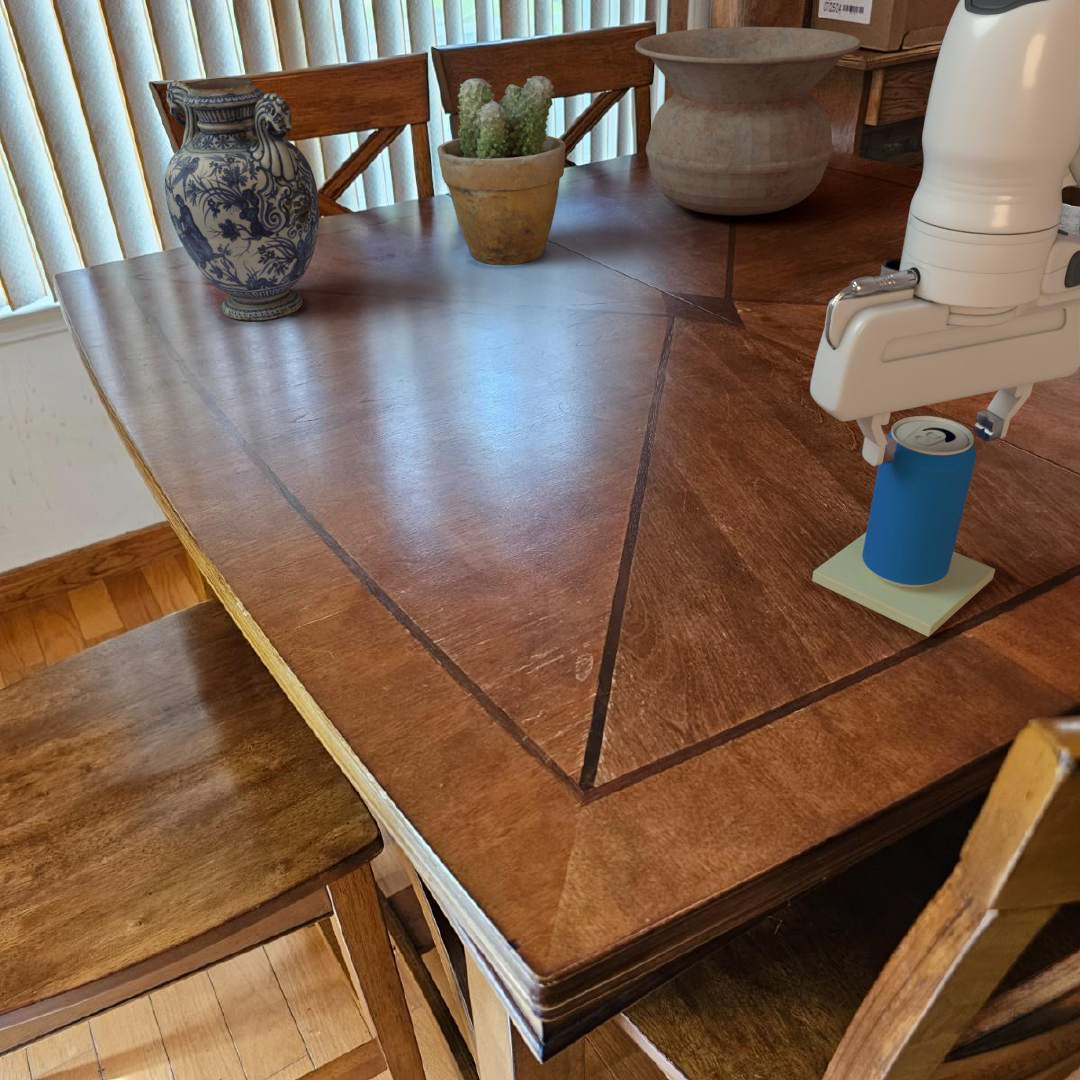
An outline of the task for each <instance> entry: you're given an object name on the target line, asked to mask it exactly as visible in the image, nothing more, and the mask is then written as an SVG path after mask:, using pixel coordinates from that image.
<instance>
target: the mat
mask: <svg viewBox="0 0 1080 1080" xmlns="http://www.w3.org/2000/svg"><path fill="white" fill-rule="evenodd" d="M865 537H866V532H864V533H863V534H861V535H860V536H859V537H858V538H856V539H855V540H853V541H852V542H850V543H849V544H848V545H846V546H845V547H844V548H843V549H841V550H840V551H839V552H837V553H836V554H834V555H833V556H832V557H830V558H828V560H826V561H825V562H824V563H822V564H821V565H820V566H818V567H816V568H815V569H813V571H812V577H811V578H812V579H811V581H812V582H813V583H816V584H818V585H820V586H822V587H824V588H826V589H827V590H830V591H832V592H834V593H836V594H838V595H840V596H843V597H844V598H847V599H848V600H851V601H853V602H855V603H857V604H859V605H861V606H863V607H865V608H867V609H869V610H871V611H873V612H875V613H877V614H880V615H882V616H884V617H886V618H888V619H890V620H892V621H893V622H894V621H895V622H897V623H898V624H901V625H902V626H905V627H907V628H909V629H911V630H912V631H915V632H917V633H919V634H922V635H924V636H925V637H927V638H929V637H930V636H931V635H932V634H934V633H935V632H936V631H937V630H938V629H939V628H940V627H941V626H943V625H944V624H945V623H946V622H947V621H948V620H949V619H950V618H951V617H953V615H954V614H956V613H957V612H958V611H959V610H960V609H961V608H962V607H964V605H966V604H967V603H968V602H969V601H970V600H971V599H972V598H973V597H974V596H976V595H977V594H978V593H979V592H980V591H981V590H982V589H984V588H985V587H986V586H987V585H988V584H989V583H990V582H991V581H992V580H993V579H994V575H995V573H996V568H994V567H991V566H990V565H986V564H985V563H982V562H980V561H977V560H975V559H972V558H970V557H967V556H966V555H963V554H961V553H958V552H956V551H953V555H952V559H951V563H950V568H949V571H948V573H947V575H946V576H945V577H944V578H943V579H942V580H940V581H938V582H936V583H933V584H929V585H926V586H923V587H916V588H908V587H900V586H896V585H893V584H890V583H887V582H885V581H883V580H882V579H880V578H879V577H878V576H876V575H875V574H874V573H873V572H872V571H871V570H869V569H868V567H867V566H866V565H865V563H864V561H863V557H862V554H863V548H864V542H865Z"/></svg>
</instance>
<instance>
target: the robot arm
mask: <svg viewBox="0 0 1080 1080" xmlns="http://www.w3.org/2000/svg"><path fill="white" fill-rule="evenodd" d="M926 105H927V106H926V111H925V115H924V123H923V129H922V135H921V146H922V153H923V168H922V174H921V177H920V181H919V183H918V186H917V188H916V190H915V192H914V194H913V197H912V198H911V202H910V206H909V210H908V211H909V212H908V216H907V217H908V218H907V223H906V229H905V235H904V241H903V246H902V252H901V257H900V258H901V263H900V269H899V271H897V272H891V273H887V274H884V275H881V276H880V275H877V276H871V275H869V276H861V277H858V278H855V279H852V280H850V282H849V283H848V286H847V287H844V288H843V289H842V290H840V291H839V292H838V293H837V294H836V295H835V296H834V297H833V298H832V299H831V300H830V301H829V303H828V304H827V309H826V312H825V313H826V316H825V321H824V328H823V331H822V335H821V337H820V341H819V345H818V348H817V352H816V356H815V360H814V365H813V368H812V369H813V370H812V374H811V378H810V386H809V393H810V396H811V398H812V399H813V400H814V402H815V403H816V404H817V405H818V406H819V407H820V408H821V409H822V410H823V411H824V412H825V413H827V414H829V415H830V416H831V417H833V418H834V419H836V420H837V421H840V422H842V423H843V422H850V421H856V423H857V425H858V427H859V429H860V431H861V433H862V435H863V436H864V439H863V445H862V457H863V460H865V461H866V462H867V463H868V464H870V465H871V466H872V467H876V466H877V467H878V466H879V465H882V464H886V463H891V462H893V461H894V459H895V456H894V453H895V451H896V448H897V443H898V442H896V441H895V440H893V439H892V438H889V437H888V434H887V433H886V432H884V430H883V428H882V426H886V425H888V424H889V423H890V418H891V415H892V414H891V413H895V412H899V411H905V410H909V409H915V408H919V407H925V406H928V405H935V404H939V403H944V402H948V401H954V400H959V399H964V398H969V397H974V396H978V395H983V394H988V393H993V392H996V393H995V395H994V396H993V398H992V400H991V401H990V403H989V405H988V406H987V408H986V409H984V410H979V411H977V413H976V417H975V421H976V423H974V426H973V433H974V435H975V436H976V437H978V438H980V439H982V441H984V442H990V441H996V440H1000V439H1005V438H1006V436H1007V433H1008V431H1009V426H1010V423H1011V419H1013V418H1014V417H1015V415H1016V414H1017V413H1018V412H1019V410H1021V408H1022V406H1023V405H1024V404H1025V403H1026V402H1027V400H1028V399H1029V398H1030V397H1031V395H1032V392H1033V389H1034V385H1035V384H1037V383H1042V382H1047V381H1052V380H1056V379H1057V380H1058V379H1063V378H1066V377H1067V378H1068V377H1071V376H1072V375H1074V374H1075V373H1076V372H1077V371H1078V370H1079V369H1080V236H1079V235H1076V234H1074V233H1070V232H1067V231H1065V230H1063V229H1060V225H1061V221H1062V217H1063V194H1062V193H1063V189H1065V188H1067V187H1073V188H1078V189H1080V0H959V1H958V3H957V5H956V7H955V9H954V11H953V14H952V15H951V18H950V21H949V23H948V26H947V28H946V31H945V34H944V37H943V40H942V43H941V47H940V50H939V52H938V57H937V60H936V64H935V68H934V73H933V77H932V82H931V85H930V91H929V94H928V101H927V104H926ZM848 294H849V295H848Z"/></svg>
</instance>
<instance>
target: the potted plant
mask: <svg viewBox="0 0 1080 1080" xmlns="http://www.w3.org/2000/svg"><path fill="white" fill-rule="evenodd" d="M459 85H460V87H459V93H458V95H457V98H458V104H459V105H457V106H456V107H457V109H458V110H459V111H458V116H457V118H458V119H459V122H460V123H459V124H460V125H459V126H458V128H459V129H458V130H457V135H458V137H459V138H454V139H451V140H448V141H445V142H443V143H442V144H440V145H438V147H437V149H436V151H437V154H438V161H439V167H440V172H441V177H442V180H443V182H444V184H445V185H446V186H447V188H448V191H449V195H450V199H451V201H452V205H453V208H454V212H455V217H456V219H457V222H458V225H459V227H460V229H461V231H462V234H463V238H464V240H465V243H466V245H467V248H468V252H469V254H470V255H471V257H472V258H473V259H474V260H475V261H477V262H480V263H483V264H487V265H498V266H500V265H501V266H502V265H503V266H504V265H505V266H508V265H520V264H525V263H529V262H533V261H535V260H537V259H539V258H540V257H541V256H542V255H543V254H544V252H545V250H546V247H547V243H548V239H549V235H550V232H551V229H552V225H553V221H554V216H555V212H556V207H557V202H558V201H557V200H558V195H559V188H560V179H561V178H562V177H564V173H565V162H566V146H567V144H566V143H565V141H564V140H562V139H561V138H558V137H555V136H550V135H548V134H547V131H546V129H547V128H548V125H547V121H548V120H549V118H548V116H549V115H550V108H551V107H552V106H553V99H552V98H553V97H554V96H555V94H556V92H554V91H553V89H554V88H555V86H554V85H553V84H552V81H551V79H549V78H547V77H545V76H542V75H533V76H532V77H531V78H529V77H528V78H527V79H526V83H525V84H524V85H523V87H521V86H518V85H516V84H509V85H508V86H507V87H506V89H505V90H504V93H505V95H504V96H502V98H500V100H498V102H497V101H495V100H494V99H495V93H493V92H492V89H491V88H492V86H493V85H490V83H489V82H487V81H486V80H485V79H484V78H469V79H467V80H465V81H464V82H463V83H460V84H459Z"/></svg>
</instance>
